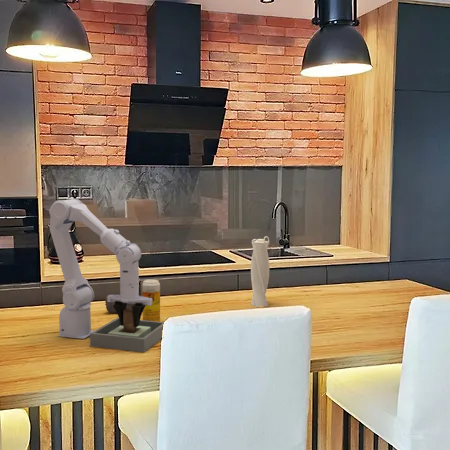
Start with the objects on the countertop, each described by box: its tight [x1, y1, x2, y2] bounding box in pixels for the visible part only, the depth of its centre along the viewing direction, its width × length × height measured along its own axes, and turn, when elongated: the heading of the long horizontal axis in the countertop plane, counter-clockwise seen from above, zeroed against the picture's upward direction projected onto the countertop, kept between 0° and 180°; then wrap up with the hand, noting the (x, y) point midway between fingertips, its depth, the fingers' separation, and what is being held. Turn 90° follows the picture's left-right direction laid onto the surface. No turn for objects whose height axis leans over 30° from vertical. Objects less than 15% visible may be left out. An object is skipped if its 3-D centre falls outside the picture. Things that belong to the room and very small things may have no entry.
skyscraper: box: [250, 235, 270, 308], centre depth 216 cm, size 8×8×28 cm
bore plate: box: [108, 326, 151, 338], centre depth 174 cm, size 10×10×2 cm
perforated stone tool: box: [104, 293, 135, 314], centre depth 207 cm, size 15×5×7 cm, turn 115°
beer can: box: [141, 279, 161, 322], centre depth 192 cm, size 6×6×15 cm
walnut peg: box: [123, 308, 136, 333], centre depth 174 cm, size 4×4×8 cm
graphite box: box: [89, 317, 165, 353], centre depth 174 cm, size 18×18×4 cm
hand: (129, 325), depth 174 cm, fingers closed on walnut peg, 4 cm apart
